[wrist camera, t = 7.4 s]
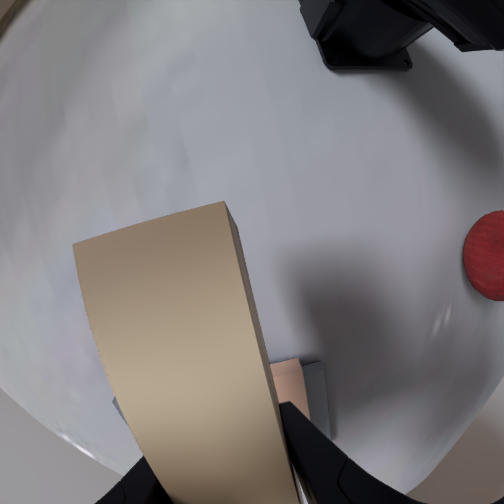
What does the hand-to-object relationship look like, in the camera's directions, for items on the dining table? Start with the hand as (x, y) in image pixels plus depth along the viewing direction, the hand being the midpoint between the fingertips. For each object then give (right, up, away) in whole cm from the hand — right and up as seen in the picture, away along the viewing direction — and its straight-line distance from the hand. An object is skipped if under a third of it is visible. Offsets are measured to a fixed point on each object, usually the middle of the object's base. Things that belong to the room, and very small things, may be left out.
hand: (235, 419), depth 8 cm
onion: (+17, +6, +8) cm, 20 cm away
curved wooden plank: (0, 0, +1) cm, 1 cm away
